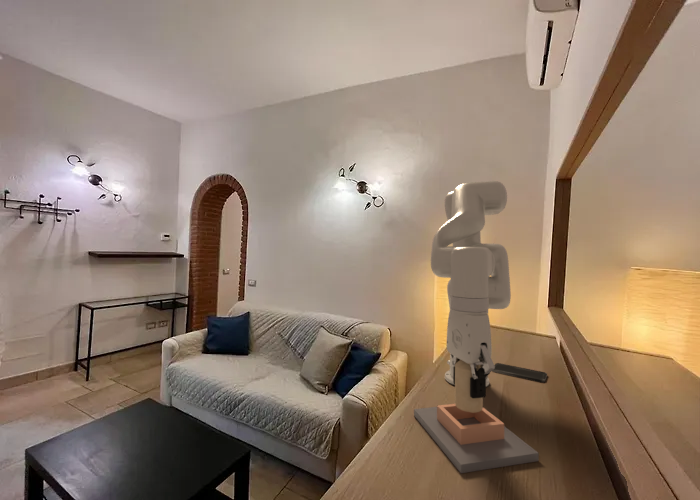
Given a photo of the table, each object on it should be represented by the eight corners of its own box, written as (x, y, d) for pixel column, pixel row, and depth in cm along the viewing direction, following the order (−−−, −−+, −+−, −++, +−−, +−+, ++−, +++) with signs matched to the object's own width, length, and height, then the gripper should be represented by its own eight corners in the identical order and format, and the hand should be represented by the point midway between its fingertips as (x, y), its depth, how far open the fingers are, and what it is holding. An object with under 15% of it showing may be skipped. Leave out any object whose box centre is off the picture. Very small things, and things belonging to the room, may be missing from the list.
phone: (544, 380, 94) (490, 369, 103) (544, 384, 94) (490, 372, 103) (547, 372, 100) (496, 362, 109) (547, 376, 100) (496, 365, 109)
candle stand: (414, 415, 75) (414, 396, 75) (474, 408, 78) (474, 390, 78) (460, 473, 55) (460, 447, 55) (538, 461, 59) (538, 436, 59)
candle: (485, 414, 64) (485, 364, 64) (456, 411, 65) (456, 362, 65) (479, 401, 69) (479, 355, 69) (453, 399, 70) (453, 354, 70)
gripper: (433, 299, 75) (433, 376, 74) (477, 313, 58) (477, 412, 58) (462, 298, 76) (462, 374, 76) (513, 311, 59) (513, 408, 59)
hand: (468, 389), depth 67 cm, fingers closed on candle, 5 cm apart
